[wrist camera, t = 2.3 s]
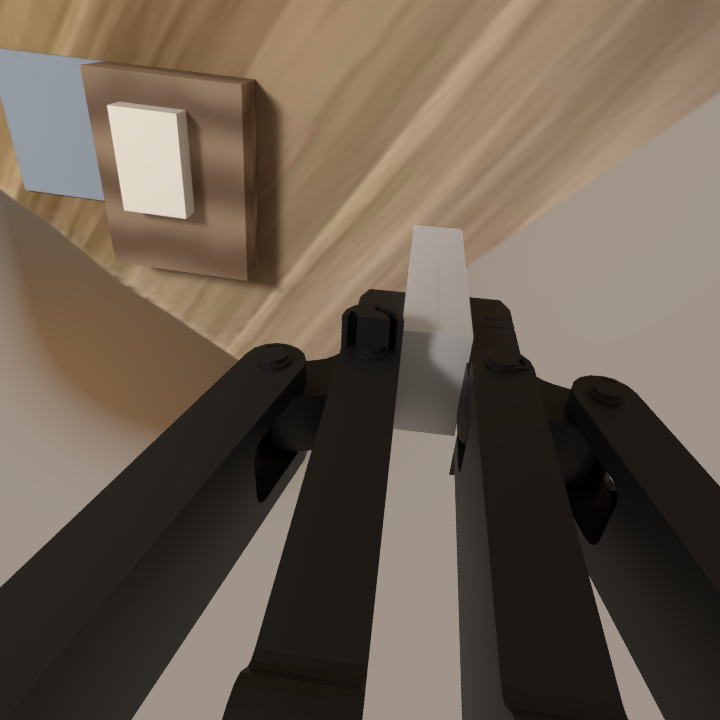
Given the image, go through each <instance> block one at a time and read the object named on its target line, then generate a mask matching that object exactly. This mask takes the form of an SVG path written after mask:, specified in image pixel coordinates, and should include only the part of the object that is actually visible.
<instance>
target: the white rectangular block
mask: <svg viewBox="0 0 720 720" xmlns="http://www.w3.org/2000/svg"><path fill="white" fill-rule="evenodd" d="M107 109H108V115H109V121H110V127H111V134H112V140H113V146H114V152H115V158H116V164H117V170H118V177H119V183H120V189H121V195H122V201H123V207H124V211H132V212H139V213H146V214H153V215H161V216H168V217H175V218H182V219H187V218H188V217H189V216H191V215H192V214H193V213H194V212H195V211H194V200H193V188H192V176H191V165H190V153H189V141H188V130H187V118H186V110H181V109H173V108H165V107H157V106H149V105H142V104H134V103H126V102H116V103H112V104H109V105H107Z"/></svg>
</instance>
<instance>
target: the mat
mask: <svg viewBox="0 0 720 720" xmlns="http://www.w3.org/2000/svg"><path fill="white" fill-rule="evenodd" d="M96 62H103V61H99V60H91V59H83V58H74V57H66V56H58V55H50V54H42V53H34V52H25V51H17V50H9V49H1V48H0V96H1V100H2V104H3V107H4V111H5V115H6V119H7V122H8V126H9V130H10V134H11V138H12V141H13V145H14V149H15V153H16V156H17V160H18V164H19V168H20V172H21V175H22V179H23V183H24V187H25V190H29V191H37V192H44V193H51V194H58V195H66V196H73V197H80V198H88V199H95V200H102V201H105V200H104V194H103V189H102V183H101V178H100V173H99V167H98V162H97V156H96V151H95V145H94V140H93V134H92V129H91V123H90V118H89V112H88V107H87V101H86V96H85V90H84V85H83V79H82V74H81V68H80V65H82V64H89V63H96Z"/></svg>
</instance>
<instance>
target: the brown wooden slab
mask: <svg viewBox="0 0 720 720" xmlns="http://www.w3.org/2000/svg"><path fill="white" fill-rule="evenodd" d="M80 68H81V74H82V79H83V85H84V90H85V96H86V101H87V107H88V112H89V118H90V123H91V129H92V134H93V140H94V145H95V151H96V156H97V162H98V167H99V173H100V178H101V183H102V189H103V194H104V200H105V205H106V211H107V216H108V222H109V227H110V233H111V238H112V244H113V249H114V255H115V260H116V262H119V263H126V264H133V265H140V266H147V267H154V268H161V269H168V270H175V271H182V272H189V273H196V274H203V275H210V276H217V277H224V278H231V279H238V280H245V281H247V280H248V279H249V278H250V276H251V275H252V274H253V272H254V271H255V269H256V268H257V267H258V214H257V155H256V96H255V80H254V79H246V78H237V77H229V76H221V75H213V74H205V73H197V72H189V71H180V70H172V69H164V68H156V67H148V66H140V65H131V64H123V63H115V62H107V61H103V62H96V63H89V64H82V65H80ZM116 102H126V103H134V104H142V105H149V106H157V107H165V108H173V109H181V110H186V118H187V130H188V141H189V153H190V165H191V176H192V188H193V200H194V211H195V212H194V213H193V214H192V215H191V216H189V217H188V218H187V219H182V218H175V217H168V216H161V215H153V214H146V213H139V212H132V211H124V207H123V201H122V195H121V189H120V183H119V177H118V170H117V164H116V158H115V152H114V146H113V140H112V134H111V127H110V121H109V115H108V109H107V105H109V104H112V103H116Z"/></svg>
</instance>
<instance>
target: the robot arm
mask: <svg viewBox="0 0 720 720" xmlns="http://www.w3.org/2000/svg"><path fill="white" fill-rule="evenodd" d="M456 424H457V438H456V444H455V448H454V454H453V458H452V463H451V468H450V473H449V475H454V474H455V500H456V533H457V562H458V563H457V566H458V598H459V629H460V630H459V632H460V665H461V695H462V696H461V698H462V720H628V718H627V716H626V713H625V710H624V707H623V704H622V700H621V697H620V692H619V689H618V685H617V681H616V677H615V673H614V670H613V666H612V662H611V658H610V654H609V651H608V647H607V643H606V640H605V636H604V632H603V628H602V624H601V620H600V616H599V613H598V609H597V605H596V602H595V598H594V594H593V590H592V586H591V582H590V579H589V576H590V578H591V580H592V582H593V583H594V586H595V587H596V589H597V591H598V593H599V595H600V597H601V599H602V601H603V603H604V605H605V607H606V608H607V610H608V612H609V614H610V616H611V618H612V620H613V622H614V623H615V626H616V627H617V629H618V631H619V633H620V635H621V637H622V639H623V641H624V643H625V645H626V646H627V648H628V650H629V652H630V654H631V656H632V658H633V660H634V662H635V664H636V666H637V667H638V669H639V671H640V673H641V675H642V677H643V679H644V681H645V683H646V684H647V686H648V688H649V690H650V692H651V694H652V696H653V698H654V700H655V702H656V703H657V706H658V707H659V709H660V711H661V713H662V715H663V717H664V719H665V720H720V486H719V485H718V484H717V483H716V482H715V481H714V480H713V478H712V477H711V476H710V475H709V474H708V473H707V472H706V470H705V469H704V468H703V467H702V466H701V465H700V464H699V463H698V461H697V460H696V459H695V458H694V457H693V456H692V455H691V454H690V453H689V452H688V450H687V449H686V448H685V447H684V446H683V445H682V444H681V443H680V441H679V440H678V439H677V438H676V437H675V436H674V435H673V434H672V432H671V431H670V430H669V429H668V428H667V427H666V426H665V425H664V424H663V422H662V421H661V420H660V419H659V418H658V417H657V416H656V414H655V413H654V412H653V411H652V410H651V409H650V408H649V407H648V406H647V404H646V403H645V402H644V401H643V400H642V399H641V398H640V397H639V396H638V394H637V393H635V392H634V391H633V390H632V389H631V388H629V387H628V386H626V385H625V384H623V383H620V382H618V381H617V380H615V379H612V378H608V377H604V376H592V375H590V376H584V377H580V378H578V379H577V380H575V381H574V382H573V385H572V388H571V389H567V388H564V387H561V386H558V385H554V384H551V383H549V382H546V381H543V380H541V379H540V378H538V377H536V373H535V370H534V367H533V366H532V364H531V362H530V361H529V360H528V359H526V358H525V357H524V356H522V355H520V351H519V346H518V342H517V338H516V334H515V331H514V325H513V322H512V317H511V313H510V310H509V309H508V308H507V307H506V306H505V305H504V304H503V303H502V302H501V301H500V300H491V299H480V298H471V297H469V291H468V282H467V272H466V263H465V253H464V244H463V234H462V229H454V228H442V227H431V226H419V225H414V228H413V237H412V245H411V254H410V262H409V271H408V279H407V288H406V293H405V292H395V291H385V290H375V289H370V290H368V291H367V292H366V293H365V294H363V295H362V296H361V297H360V300H359V304H358V305H355V306H353V307H351V308H349V309H347V310H346V311H345V312H344V313H343V315H342V337H341V350H340V353H339V354H337V355H335V356H333V357H330V358H327V359H321V360H312V361H306V359H305V355H304V353H303V352H302V351H301V350H299V349H298V348H296V347H293V346H291V345H287V344H280V343H274V344H272V343H271V344H265V345H262V346H259V347H255V348H254V349H252V350H251V351H249V352H248V353H246V354H245V355H244V356H243V357H242V358H241V359H240V360H239V361H238V362H237V363H236V364H235V365H234V366H233V367H232V368H231V369H230V370H229V371H227V372H226V373H225V375H223V376H222V377H221V378H220V379H219V380H218V381H217V382H216V383H215V384H214V385H213V386H212V387H211V388H210V389H209V390H208V391H206V392H205V393H204V394H203V395H202V396H201V397H200V398H199V399H198V400H197V401H196V402H195V403H194V404H193V405H192V406H191V407H190V408H189V409H188V410H186V411H185V412H184V413H183V414H182V415H181V416H180V417H179V418H178V419H177V420H176V421H175V422H174V423H173V424H172V425H171V426H170V427H169V428H168V429H166V430H165V431H164V432H163V433H162V434H161V435H160V436H159V437H158V438H157V439H156V440H155V441H154V442H153V443H152V444H151V445H150V446H149V447H148V448H146V450H144V451H143V452H142V453H141V454H140V455H139V456H138V457H137V458H136V459H135V460H134V461H133V462H132V463H131V464H130V465H129V466H128V467H127V468H125V469H124V470H123V471H122V472H121V473H120V474H119V475H118V476H117V477H116V478H115V479H114V480H113V481H112V482H111V483H110V484H109V485H108V486H107V487H105V488H104V489H103V490H102V491H101V492H100V493H99V494H98V495H97V496H96V497H95V498H94V499H93V500H92V501H91V502H90V503H89V504H88V505H87V506H85V508H83V510H81V512H79V513H78V514H77V515H76V516H75V517H74V518H73V519H72V520H71V521H70V522H69V523H68V524H67V525H66V526H65V527H63V528H62V529H61V530H60V531H59V532H58V533H57V534H56V535H55V536H54V537H53V538H52V539H51V540H50V541H49V542H48V543H47V544H45V546H43V547H42V548H41V549H40V550H39V551H38V552H37V553H36V554H35V555H34V556H33V557H32V558H31V559H30V560H29V561H28V562H27V563H26V564H24V566H22V567H21V568H20V569H19V570H18V571H17V572H16V573H15V574H14V575H13V576H12V577H11V578H10V579H9V580H8V581H7V582H6V583H5V584H3V585H2V587H0V720H131V719H132V718H133V716H134V715H135V713H136V712H137V710H138V709H139V707H140V706H141V704H142V703H143V701H144V700H145V698H146V697H147V695H148V694H149V692H150V691H151V689H152V688H153V686H154V685H155V683H156V682H157V680H158V679H159V677H160V676H161V674H162V673H163V671H164V670H165V668H166V667H167V665H168V664H169V662H170V661H171V659H172V658H173V656H174V655H175V653H176V652H177V650H178V649H179V647H180V646H181V644H182V643H183V641H184V640H185V638H186V637H187V635H188V634H189V632H190V631H191V629H192V628H193V626H194V625H195V623H196V622H197V620H198V619H199V617H200V616H201V614H202V613H203V611H204V610H205V608H206V607H207V605H208V604H209V602H210V601H211V599H212V598H213V596H214V595H215V593H216V592H217V590H218V589H219V587H220V586H221V584H222V583H223V581H224V580H225V578H226V577H227V575H228V574H229V572H230V571H231V569H232V568H233V566H234V565H235V563H236V562H237V560H238V559H239V557H240V556H241V554H242V552H243V551H244V549H245V548H246V547H247V545H248V543H249V542H250V541H251V539H252V538H253V536H254V534H255V533H256V531H257V530H258V528H259V527H260V525H261V524H262V522H263V521H264V519H265V518H266V516H267V515H268V513H269V512H270V510H271V509H272V507H273V506H274V504H275V503H276V501H277V500H278V498H279V497H280V495H281V494H282V492H283V491H284V489H285V488H286V486H287V485H288V483H289V482H290V480H291V479H292V477H293V476H294V474H295V473H296V471H297V470H298V468H299V467H300V465H301V464H302V462H303V461H304V459H305V457H306V454H307V451H308V450H312V452H311V455H310V458H309V462H308V465H307V469H306V472H305V476H304V480H303V483H302V486H301V490H300V493H299V497H298V500H297V504H296V507H295V511H294V514H293V518H292V521H291V525H290V528H289V532H288V535H287V539H286V542H285V546H284V549H283V553H282V556H281V560H280V563H279V567H278V570H277V574H276V577H275V581H274V584H273V587H272V591H271V594H270V598H269V601H268V605H267V608H266V612H265V616H264V619H263V623H262V626H261V629H260V633H259V637H258V640H257V644H256V647H255V650H254V653H253V656H252V659H251V662H250V663H249V665H248V667H246V668H245V669H244V670H242V671H241V672H240V674H239V676H238V677H237V679H236V681H235V683H234V685H233V689H232V691H231V694H230V697H229V700H228V703H227V706H226V709H225V712H224V715H223V719H222V720H362V717H363V708H364V698H365V688H366V679H367V669H368V659H369V650H370V641H371V631H372V622H373V613H374V603H375V593H376V584H377V575H378V566H379V556H380V546H381V537H382V528H383V518H384V508H385V499H386V490H387V481H388V471H389V462H390V453H391V443H392V434H393V429H401V430H408V431H417V432H425V433H434V434H442V435H451V436H454V434H455V429H456ZM610 477H611V478H612V480H613V481H612V480H611V479H610ZM613 482H614V483H613ZM588 574H589V575H588Z"/></svg>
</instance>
